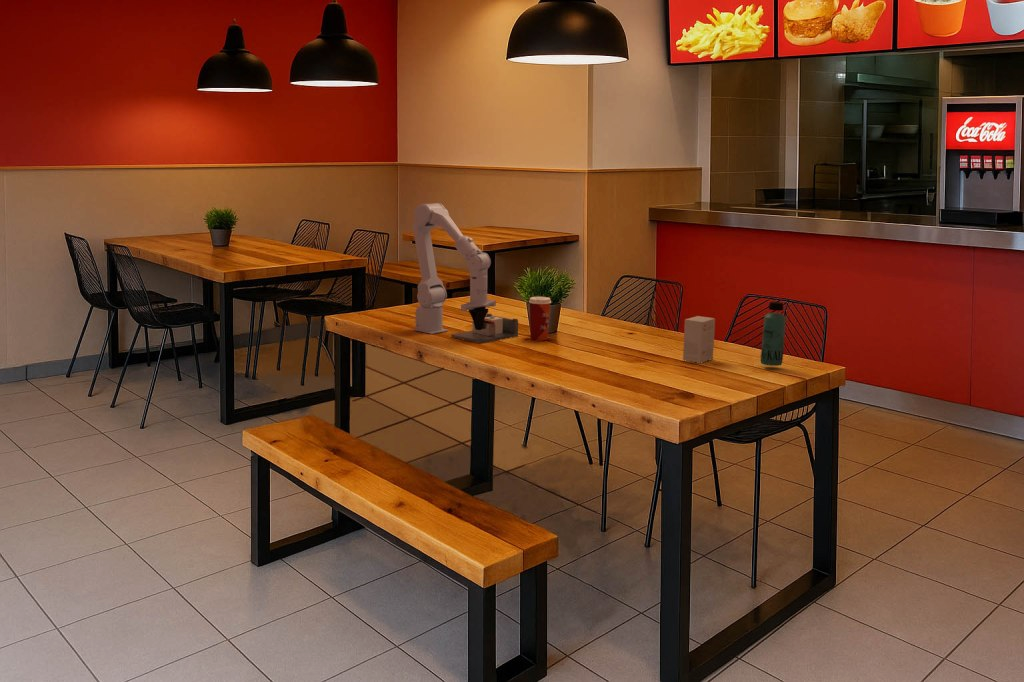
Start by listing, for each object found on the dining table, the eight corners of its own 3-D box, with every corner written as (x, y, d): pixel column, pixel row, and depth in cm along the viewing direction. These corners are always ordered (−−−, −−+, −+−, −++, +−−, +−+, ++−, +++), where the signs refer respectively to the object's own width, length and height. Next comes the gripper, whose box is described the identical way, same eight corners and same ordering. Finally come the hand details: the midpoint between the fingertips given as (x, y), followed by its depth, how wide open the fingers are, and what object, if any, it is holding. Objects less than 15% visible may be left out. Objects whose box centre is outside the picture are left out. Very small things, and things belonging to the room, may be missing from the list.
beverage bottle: (764, 364, 280) (768, 299, 276) (785, 367, 276) (790, 301, 272) (756, 368, 274) (761, 302, 270) (778, 372, 271) (783, 304, 267)
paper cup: (548, 342, 307) (549, 300, 304) (525, 340, 309) (526, 299, 306) (552, 337, 315) (553, 296, 312) (530, 336, 316) (530, 295, 313)
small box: (695, 356, 289) (697, 315, 287) (713, 359, 285) (715, 318, 283) (682, 360, 283) (684, 319, 281) (700, 364, 279) (703, 321, 277)
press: (451, 337, 312) (451, 319, 311) (489, 330, 325) (489, 313, 324) (480, 343, 303) (480, 325, 302) (517, 336, 316) (518, 319, 314)
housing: (481, 332, 316) (481, 316, 315) (492, 330, 320) (492, 314, 318) (492, 334, 313) (492, 318, 312) (502, 332, 316) (502, 316, 315)
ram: (471, 332, 315) (471, 318, 314) (477, 331, 317) (477, 317, 316) (490, 336, 309) (490, 322, 308) (496, 335, 311) (496, 321, 310)
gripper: (471, 293, 300) (471, 334, 303) (502, 288, 311) (501, 328, 314) (456, 290, 305) (456, 331, 308) (487, 286, 315) (487, 325, 318)
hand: (478, 329), depth 311 cm, fingers closed
